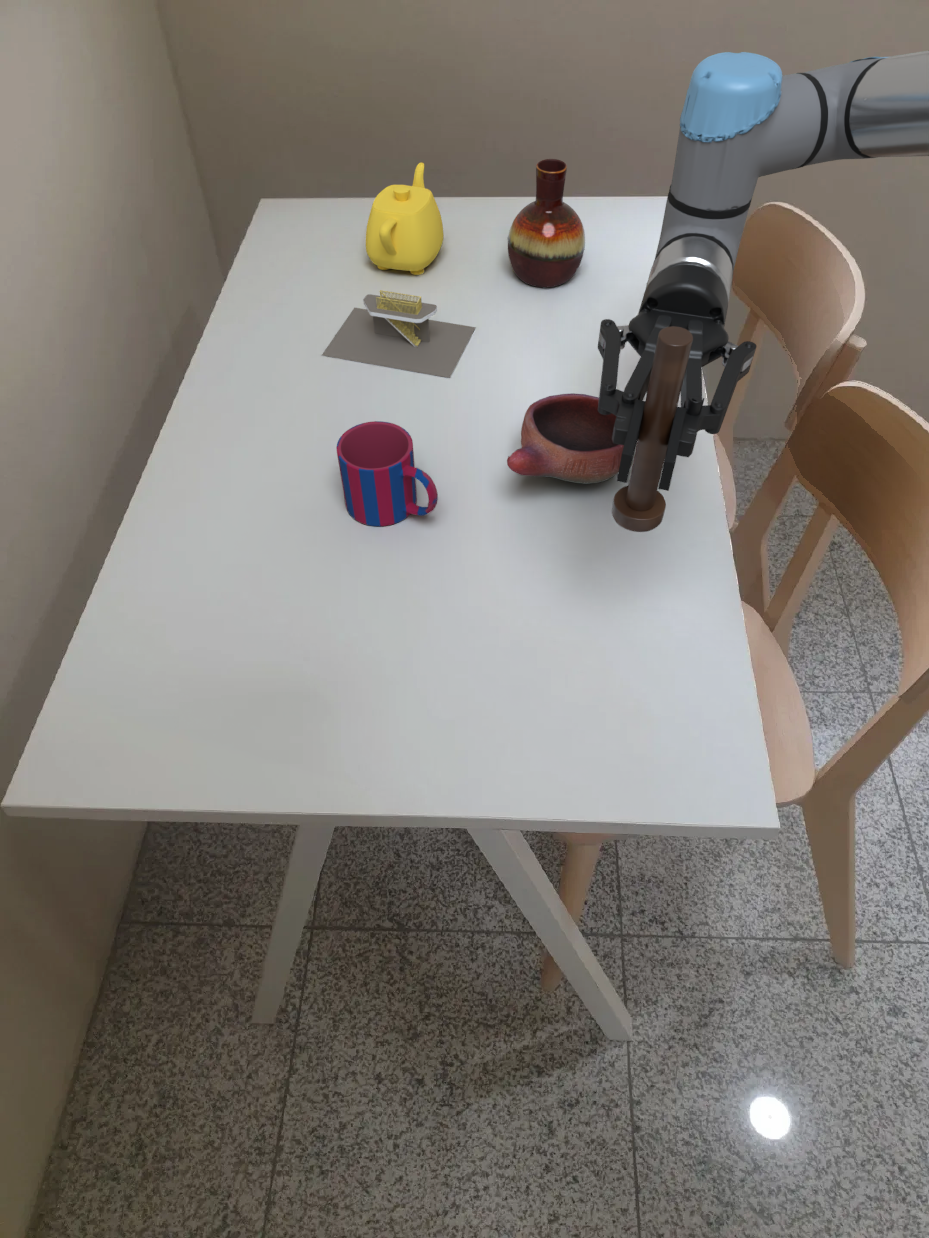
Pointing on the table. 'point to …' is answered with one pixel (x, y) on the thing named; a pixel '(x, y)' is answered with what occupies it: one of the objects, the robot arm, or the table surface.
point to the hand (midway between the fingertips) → (645, 472)
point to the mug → (381, 474)
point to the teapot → (404, 227)
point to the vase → (547, 232)
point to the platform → (400, 336)
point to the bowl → (567, 441)
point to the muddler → (654, 434)
